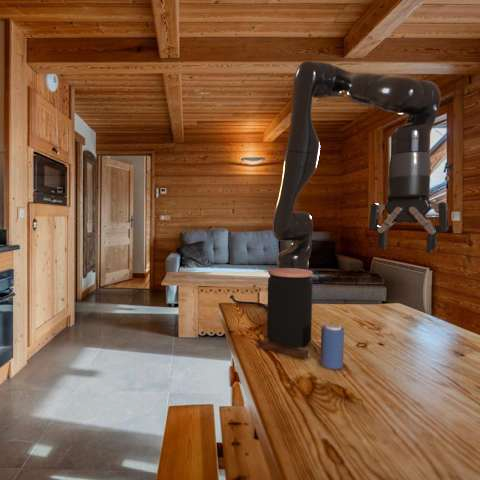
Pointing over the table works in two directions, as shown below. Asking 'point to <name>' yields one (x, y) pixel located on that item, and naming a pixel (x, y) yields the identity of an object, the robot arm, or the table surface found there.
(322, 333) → the salt shaker
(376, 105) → the robot arm
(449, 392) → the table surface
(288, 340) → the coffee jar
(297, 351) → the walnut stick
